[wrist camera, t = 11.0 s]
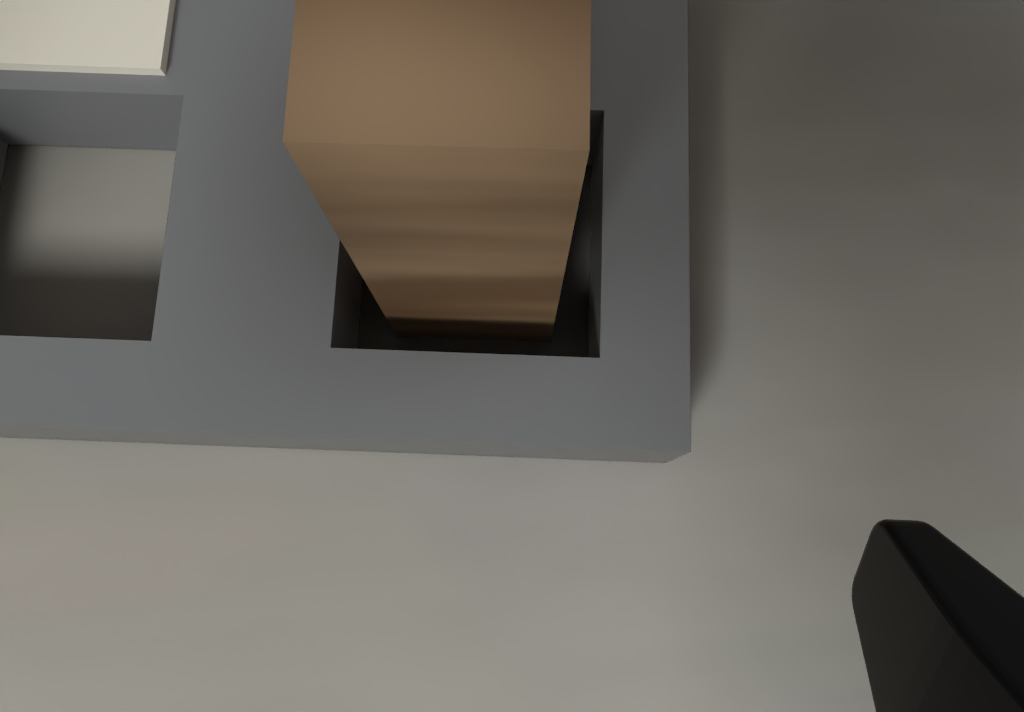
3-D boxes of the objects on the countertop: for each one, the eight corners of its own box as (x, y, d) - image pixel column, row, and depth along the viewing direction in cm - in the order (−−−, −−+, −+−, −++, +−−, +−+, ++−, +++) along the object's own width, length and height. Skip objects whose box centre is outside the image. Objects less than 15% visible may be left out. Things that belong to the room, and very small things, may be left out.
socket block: (665, 462, 21) (693, 450, 18) (-123, 432, 21) (-238, 414, 18) (665, -26, 24) (689, -115, 20) (-27, -50, 24) (-111, -142, 21)
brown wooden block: (550, 341, 21) (589, 150, 11) (397, 336, 21) (282, 141, 11) (553, 197, 22) (591, -115, 12) (406, 192, 22) (307, -122, 12)
